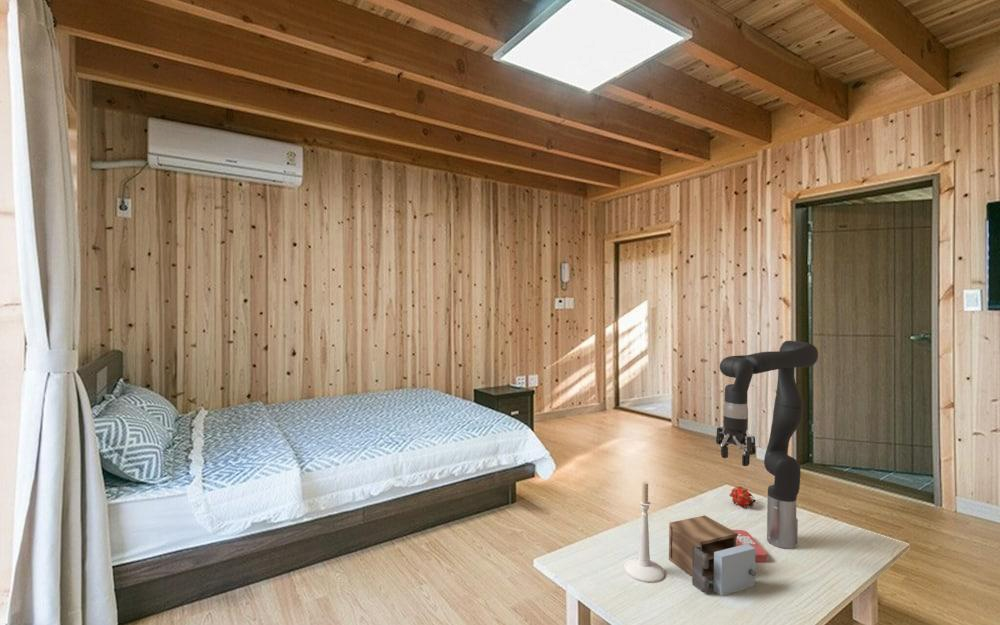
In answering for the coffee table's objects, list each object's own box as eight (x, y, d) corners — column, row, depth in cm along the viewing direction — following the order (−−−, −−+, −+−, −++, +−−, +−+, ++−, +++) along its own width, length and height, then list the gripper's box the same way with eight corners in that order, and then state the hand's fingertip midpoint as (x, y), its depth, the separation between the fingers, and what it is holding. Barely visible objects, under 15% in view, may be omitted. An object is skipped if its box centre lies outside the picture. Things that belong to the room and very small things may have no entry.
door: (713, 590, 144) (714, 552, 144) (746, 580, 149) (747, 543, 149) (724, 598, 140) (725, 559, 140) (758, 588, 146) (758, 550, 145)
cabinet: (704, 551, 167) (705, 515, 167) (752, 582, 149) (753, 541, 148) (660, 562, 160) (660, 524, 160) (704, 595, 141) (705, 553, 141)
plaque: (705, 526, 179) (746, 528, 178) (705, 536, 179) (745, 538, 178) (724, 551, 161) (769, 553, 160) (724, 562, 161) (769, 564, 160)
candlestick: (672, 580, 149) (673, 487, 149) (634, 584, 147) (635, 490, 146) (652, 559, 162) (653, 473, 161) (617, 562, 160) (618, 475, 159)
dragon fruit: (733, 502, 212) (752, 518, 201) (721, 493, 210) (739, 508, 199) (744, 487, 212) (764, 502, 201) (732, 478, 210) (751, 492, 199)
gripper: (711, 411, 166) (710, 456, 167) (745, 420, 153) (744, 469, 153) (726, 409, 169) (726, 454, 169) (761, 419, 156) (760, 467, 156)
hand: (734, 461), depth 161 cm, fingers open, 8 cm apart
